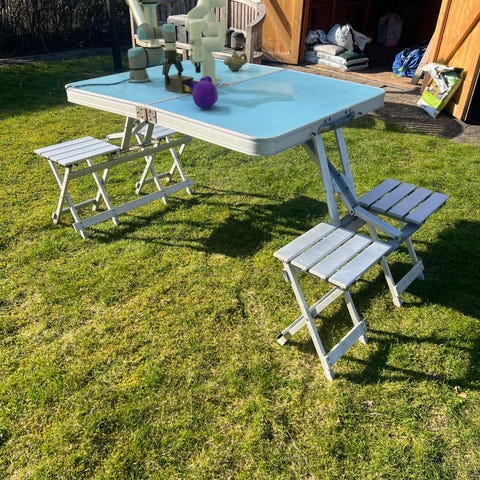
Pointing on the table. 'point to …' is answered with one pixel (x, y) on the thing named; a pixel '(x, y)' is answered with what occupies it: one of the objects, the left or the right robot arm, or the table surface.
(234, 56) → the teapot
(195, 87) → the toy
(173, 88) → the brown block
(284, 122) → the table surface
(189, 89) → the drawer
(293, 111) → the table surface
